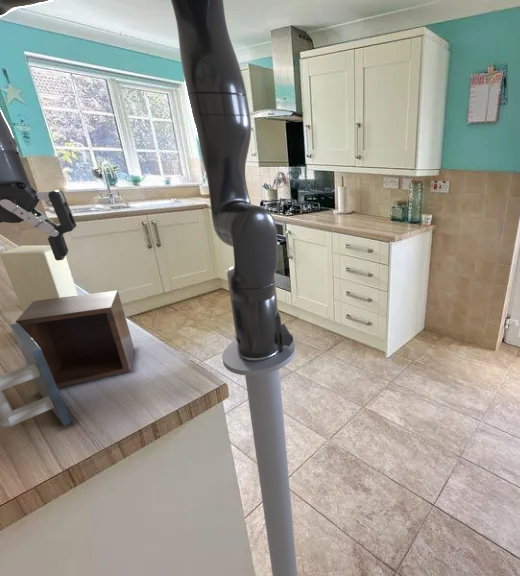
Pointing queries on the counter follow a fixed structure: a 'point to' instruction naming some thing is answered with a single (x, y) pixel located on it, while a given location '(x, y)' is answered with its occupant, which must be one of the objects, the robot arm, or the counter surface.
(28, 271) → the cream rectangular block
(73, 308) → the cupboard
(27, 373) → the door
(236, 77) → the robot arm
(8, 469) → the counter surface
